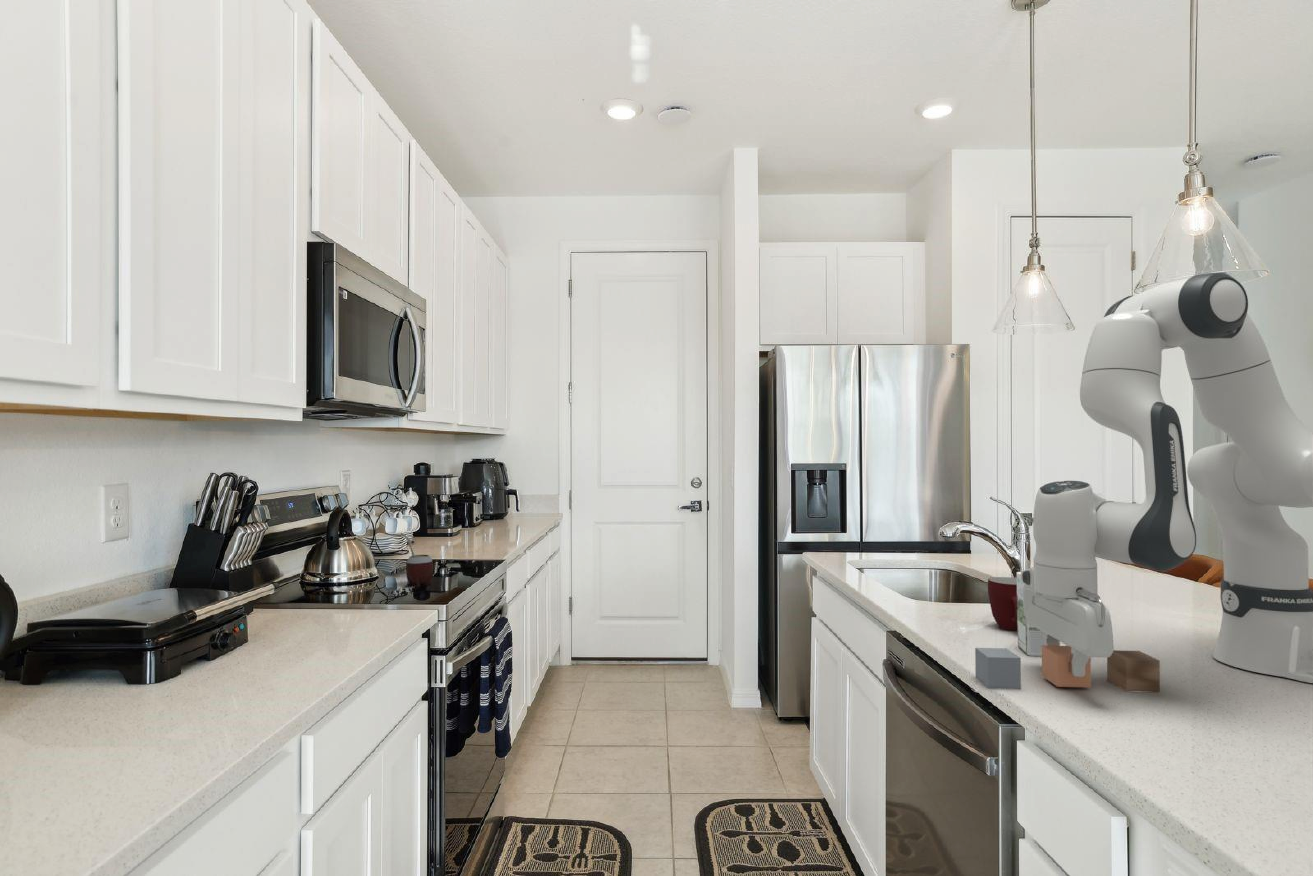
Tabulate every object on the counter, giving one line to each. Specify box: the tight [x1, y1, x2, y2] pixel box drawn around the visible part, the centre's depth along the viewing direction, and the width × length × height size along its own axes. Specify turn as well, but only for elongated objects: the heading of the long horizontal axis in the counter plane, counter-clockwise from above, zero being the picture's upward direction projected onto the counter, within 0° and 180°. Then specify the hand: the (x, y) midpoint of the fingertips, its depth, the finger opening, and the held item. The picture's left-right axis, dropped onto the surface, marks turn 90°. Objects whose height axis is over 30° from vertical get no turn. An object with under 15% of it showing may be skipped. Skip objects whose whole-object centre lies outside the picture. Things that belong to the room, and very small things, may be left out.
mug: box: [987, 576, 1018, 632], centre depth 140 cm, size 10×8×10 cm
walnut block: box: [1106, 649, 1161, 693], centre depth 108 cm, size 5×5×5 cm
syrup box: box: [1016, 571, 1061, 658], centre depth 125 cm, size 6×6×14 cm
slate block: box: [974, 647, 1022, 690], centre depth 109 cm, size 5×5×5 cm
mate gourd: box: [400, 532, 434, 589], centre depth 185 cm, size 8×8×15 cm
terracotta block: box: [1041, 645, 1092, 688], centre depth 109 cm, size 5×5×5 cm
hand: (1065, 668), depth 109 cm, fingers closed on terracotta block, 5 cm apart
